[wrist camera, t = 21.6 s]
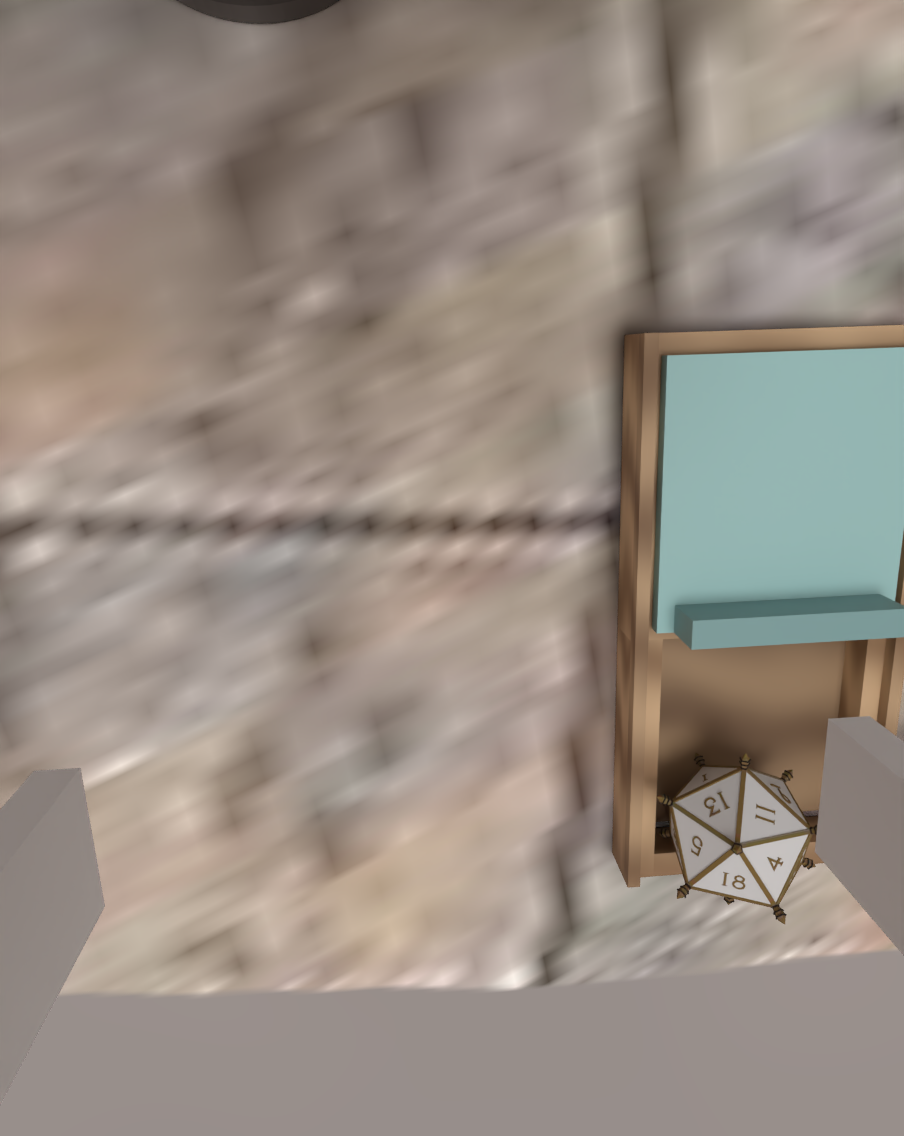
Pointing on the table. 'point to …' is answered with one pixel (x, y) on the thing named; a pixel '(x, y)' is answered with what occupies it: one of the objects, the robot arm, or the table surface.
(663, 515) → the cover
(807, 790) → the board
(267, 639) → the table surface
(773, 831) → the game die
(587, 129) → the table surface
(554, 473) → the table surface
